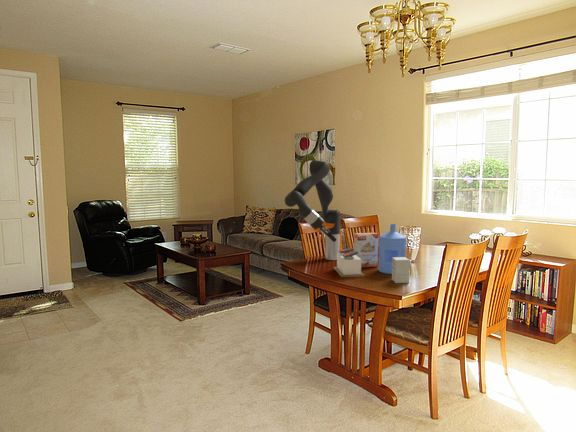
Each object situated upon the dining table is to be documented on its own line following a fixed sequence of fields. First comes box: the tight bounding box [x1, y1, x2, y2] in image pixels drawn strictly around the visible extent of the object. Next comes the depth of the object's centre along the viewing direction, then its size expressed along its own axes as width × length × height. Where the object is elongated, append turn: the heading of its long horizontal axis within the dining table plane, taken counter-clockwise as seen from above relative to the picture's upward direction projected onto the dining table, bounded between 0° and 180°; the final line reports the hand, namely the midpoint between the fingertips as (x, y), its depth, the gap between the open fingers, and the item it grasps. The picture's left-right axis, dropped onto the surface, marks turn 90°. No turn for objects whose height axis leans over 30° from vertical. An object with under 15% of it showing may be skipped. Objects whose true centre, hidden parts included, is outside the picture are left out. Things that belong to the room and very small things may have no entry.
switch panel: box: [333, 253, 365, 278], centre depth 245 cm, size 21×13×11 cm, turn 5°
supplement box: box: [391, 256, 411, 284], centre depth 225 cm, size 7×7×13 cm
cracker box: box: [353, 232, 379, 269], centre depth 260 cm, size 14×6×21 cm, turn 105°
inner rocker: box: [339, 247, 354, 254], centre depth 250 cm, size 4×8×2 cm, turn 95°
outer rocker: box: [343, 251, 358, 258], centre depth 239 cm, size 4×8×2 cm, turn 95°
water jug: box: [377, 223, 407, 275], centre depth 246 cm, size 16×16×28 cm
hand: (335, 240), depth 237 cm, fingers closed
